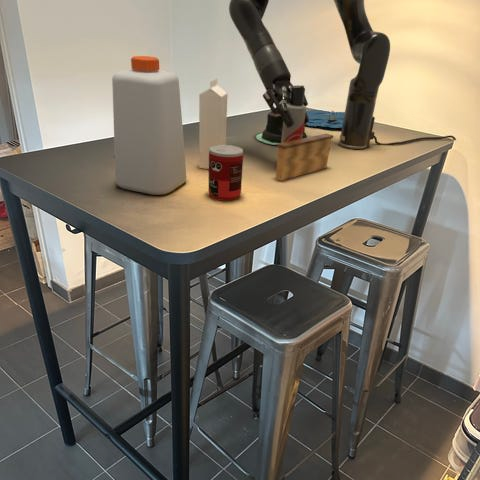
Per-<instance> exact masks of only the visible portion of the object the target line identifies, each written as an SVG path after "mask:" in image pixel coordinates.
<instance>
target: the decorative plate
mask: <svg viewBox="0 0 480 480" xmlns="http://www.w3.org/2000/svg"><path fill="white" fill-rule="evenodd" d="M306 113H307V116H308V118H309V122H307V123H306V124H305V125H304V126H306V125H307V126H309V127H314V128H316V127H325V128H334V129H337V128H338V129H342V125H343V120H344V114H345V111H334V110H331V111H330V110H322V109H311V110H306Z"/></svg>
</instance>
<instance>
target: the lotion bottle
mask: <svg viewBox="0 0 480 480" xmlns="http://www.w3.org/2000/svg"><path fill="white" fill-rule="evenodd" d="M305 92H306V87H305V85H302V84H301V85H293V86H292V87H291V90H290V100H289V104H286V105H287V110H286V111H289V113H290V115H291V117H292V119H293V122H294V124H293V125H292V126H291V127H287V126H286V125H285V123H284V121H283V130H282V139H281V143H284V142H289V141H294V140H298V139H302V136H303V128H304V127H305V125H304V121H305V113H306V111H307V106H305V105H303V101H304V94H305V95H306V93H305Z"/></svg>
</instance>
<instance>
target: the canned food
mask: <svg viewBox="0 0 480 480" xmlns="http://www.w3.org/2000/svg"><path fill="white" fill-rule="evenodd" d="M243 166H244V149H243V148H241V147H239V146H235V145H230V144H229V145H228V144H226V145H216V146H212V147H210V148H209V169H208V194H209V196H210V198H212V199H214V200H218V201H224V202H225V201H226V202H227V201H235V200H238V199H239V198H240V197H241V195H242V180H243Z"/></svg>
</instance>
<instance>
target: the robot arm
mask: <svg viewBox="0 0 480 480" xmlns="http://www.w3.org/2000/svg"><path fill="white" fill-rule="evenodd" d="M269 1H270V0H230V1H229V5H228V13H229V17H230V19H231V20H232V23H233V24H234V27H235V28H236V30H237V31H238V33H239V35H240V36H241V38H242V40H243V42H244V45H245V47H246V49H247V52H248V53H249V55H250V57H251V60H252V62H253V64H254V67H255V70H256V72H257V74H258V77H259V78H260V80H261V82H262V85H263V86H264V89H265V92H264V93H263V94H262V98H263V99H264V101H265V103H266V104H267V105H268V107H269V109H270V112H271V111H272V112H273V114H276V113H277V114H279V115H280V116H281V117H282V119H283V121H284V123H285V125H286V126H287V127H291V126H292V125H293V124H294V122H293V119H292V117H291V115H290V113H289V111H286V110H287V105H286V104H289V100H290V90H291V87H292V86H294V85H293V83H292V82H291V78H292V75H291V72H290V70H289V68H288V66H287V64H286V62H285V60H284V57H283V56H282V54H281V51H280V50H279V49H278V47H277V46H276V43H275V42H274V40H273V37H272V35H271V34H270V32H269V30H268V28H267V27H266V26H265V24H264V22H263V18H264V15H265V12H266V11H267V8H268V5H269ZM333 2H334V5H335V7H336V10H337V13H338V15H339V17H340V20H341V22H342V26H343V28H344V32H345V35H346V38H347V42H348V46H349V50H350V53H351V56H352V58H353V60H354V61H355V62H356V63H357V64H359V67H358V70H357V74H356V75H355V77H352V78H351V79H350V81H349V85H348V92H347V98H346V103H345V110H344V112H345V114H344V120H343V123H342V124H343V125H342V128H341V131H340V134H339V142H338V145H339V146H341V147H343V148H347V149H352V150H363V149H366V148H370V145H371V144H370V143H371V140H372V141H373V140H374V143H375V144H376V145H379V146H395V145H403V144H406V143H407V144H408V143H411V142H416V141H422V140H444V139H448V138H450V139H453V141H457V138H456V137H455V136H454V135H445V136H444V135H443V136H424V137H417V138H413V139H408V140H403V141H395V142H388V143H382V142H379V141H378V138H377V136H376V135H375V131H373V130H374V124H375V119H376V117H375V116H374V112H375V108H376V102H377V98H378V95H379V94H378V93H379V89H380V87H381V84H382V83H383V80H384V78H385V74H386V70H387V67H388V63H389V62H388V61H389V58H390V53H391V41H390V38H389V36H388V35H387V34H386V33H384V32H380V31H374V29H373V28H372V26H371V24H370V21H369V18H368V15H367V12H366V9H365V0H333ZM274 105H275V106H274ZM303 105H305V106H306V107H307V106H309V103H308V99H307V97H306V93H305V94H304V101H303ZM309 120H310V119H309V118H308V116H307V113H305V121H304V126H306V125H305V124H306V123H307V122H309Z"/></svg>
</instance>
